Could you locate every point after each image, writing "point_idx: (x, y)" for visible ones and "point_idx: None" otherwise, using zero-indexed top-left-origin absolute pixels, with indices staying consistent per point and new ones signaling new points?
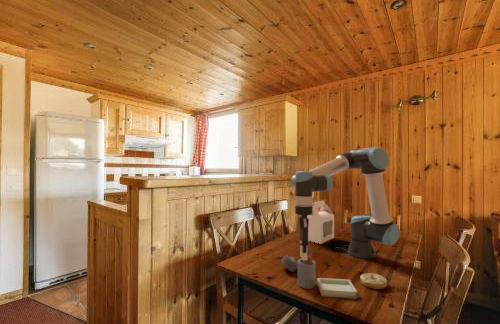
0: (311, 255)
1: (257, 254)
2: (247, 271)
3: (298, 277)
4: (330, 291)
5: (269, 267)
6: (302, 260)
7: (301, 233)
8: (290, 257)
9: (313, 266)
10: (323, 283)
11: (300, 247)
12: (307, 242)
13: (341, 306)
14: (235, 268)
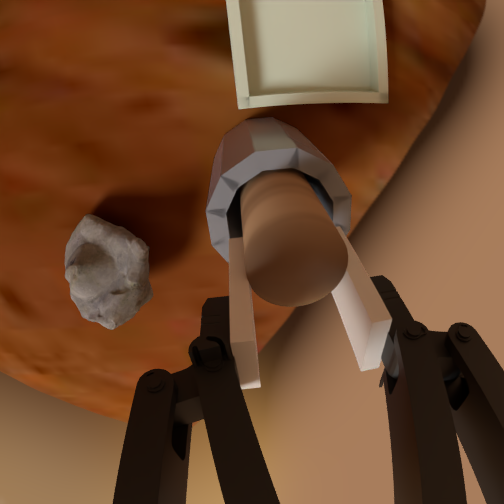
0: (320, 208)
1: (41, 370)
2: None
3: None
4: (384, 58)
5: (129, 332)
6: None
7: (398, 479)
8: (90, 293)
9: (328, 161)
10: (260, 72)
11: (255, 336)
12: (483, 349)
13: (437, 38)
14: None
